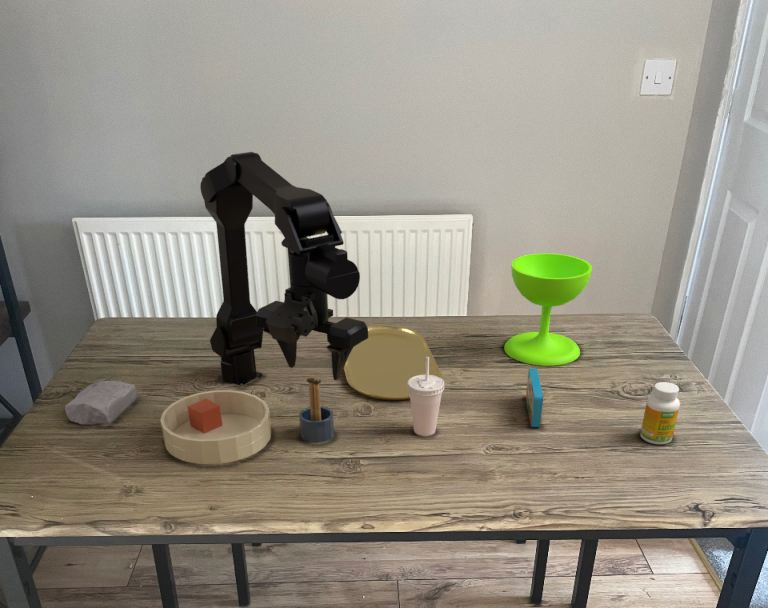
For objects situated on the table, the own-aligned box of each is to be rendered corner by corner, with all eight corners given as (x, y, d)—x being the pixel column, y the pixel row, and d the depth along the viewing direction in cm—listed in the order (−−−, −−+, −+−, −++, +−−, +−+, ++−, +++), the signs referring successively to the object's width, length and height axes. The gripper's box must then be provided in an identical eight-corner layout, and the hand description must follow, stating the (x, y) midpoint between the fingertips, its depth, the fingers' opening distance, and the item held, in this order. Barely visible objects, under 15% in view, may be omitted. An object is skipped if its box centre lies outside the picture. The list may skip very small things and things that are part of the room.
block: (208, 418, 145) (205, 398, 143) (222, 425, 143) (219, 405, 140) (190, 426, 143) (187, 406, 140) (204, 433, 140) (201, 413, 138)
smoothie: (446, 426, 143) (450, 353, 135) (437, 443, 138) (439, 369, 130) (412, 421, 145) (413, 348, 137) (401, 437, 140) (402, 363, 132)
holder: (313, 425, 144) (312, 403, 141) (340, 434, 141) (340, 411, 139) (293, 439, 140) (292, 416, 137) (321, 448, 137) (319, 425, 135)
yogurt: (525, 397, 152) (528, 367, 149) (533, 397, 152) (537, 367, 149) (531, 428, 143) (534, 397, 139) (539, 428, 143) (543, 397, 139)
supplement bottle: (655, 448, 137) (666, 397, 131) (633, 434, 141) (643, 384, 135) (678, 440, 139) (690, 389, 133) (656, 427, 143) (667, 377, 137)
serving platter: (416, 329, 180) (416, 322, 179) (450, 400, 152) (450, 392, 151) (333, 334, 178) (333, 327, 177) (352, 407, 149) (352, 400, 148)
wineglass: (500, 334, 177) (507, 252, 167) (573, 335, 177) (585, 253, 166) (507, 365, 164) (515, 278, 154) (586, 366, 164) (599, 279, 153)
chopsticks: (313, 432, 141) (310, 374, 135) (323, 435, 140) (320, 378, 134) (310, 434, 140) (306, 377, 134) (320, 437, 139) (317, 380, 133)
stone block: (66, 431, 146) (113, 426, 143) (55, 407, 144) (103, 402, 141) (98, 403, 156) (143, 398, 153) (89, 380, 153) (135, 375, 150)
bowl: (215, 405, 150) (212, 381, 147) (292, 431, 142) (290, 406, 139) (143, 447, 138) (137, 422, 135) (222, 478, 130) (218, 451, 127)
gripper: (228, 285, 123) (239, 378, 132) (326, 308, 115) (331, 406, 124) (274, 265, 131) (281, 354, 140) (369, 285, 122) (370, 379, 131)
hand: (314, 373), depth 133 cm, fingers open, 9 cm apart
